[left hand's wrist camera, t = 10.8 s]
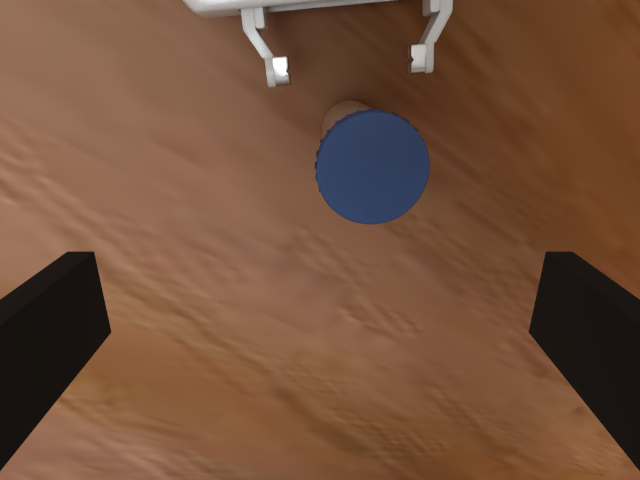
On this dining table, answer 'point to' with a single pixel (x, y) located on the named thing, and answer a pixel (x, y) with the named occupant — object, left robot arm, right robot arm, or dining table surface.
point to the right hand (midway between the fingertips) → (349, 80)
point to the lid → (372, 166)
